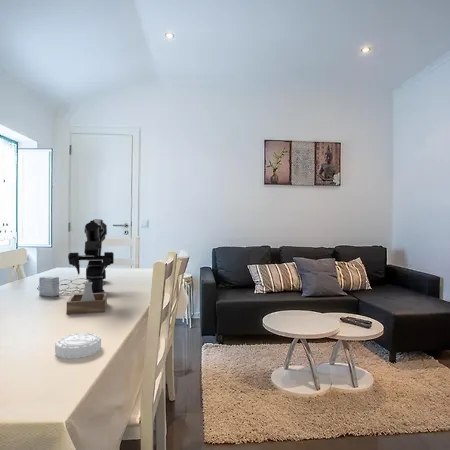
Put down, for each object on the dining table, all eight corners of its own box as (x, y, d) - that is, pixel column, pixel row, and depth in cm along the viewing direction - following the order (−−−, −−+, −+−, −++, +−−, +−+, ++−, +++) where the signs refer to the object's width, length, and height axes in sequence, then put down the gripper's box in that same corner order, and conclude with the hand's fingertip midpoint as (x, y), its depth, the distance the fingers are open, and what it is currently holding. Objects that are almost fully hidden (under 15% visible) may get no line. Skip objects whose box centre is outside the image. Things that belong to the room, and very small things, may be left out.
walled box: (72, 305, 146) (72, 294, 146) (106, 303, 150) (106, 292, 149) (66, 314, 132) (66, 302, 132) (104, 312, 136) (104, 300, 136)
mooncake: (106, 343, 104) (106, 331, 103) (92, 359, 92) (92, 346, 92) (66, 343, 103) (66, 331, 103) (46, 359, 91) (46, 346, 91)
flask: (97, 308, 139) (97, 283, 139) (78, 309, 136) (78, 284, 136) (97, 304, 146) (97, 280, 145) (79, 305, 143) (79, 281, 143)
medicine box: (59, 295, 164) (59, 277, 164) (51, 297, 160) (52, 278, 159) (46, 293, 166) (46, 275, 166) (38, 295, 162) (39, 277, 162)
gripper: (68, 234, 150) (64, 262, 140) (113, 234, 155) (112, 262, 145) (71, 250, 158) (67, 278, 147) (114, 249, 163) (113, 277, 152)
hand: (90, 273), depth 148 cm, fingers open, 9 cm apart
